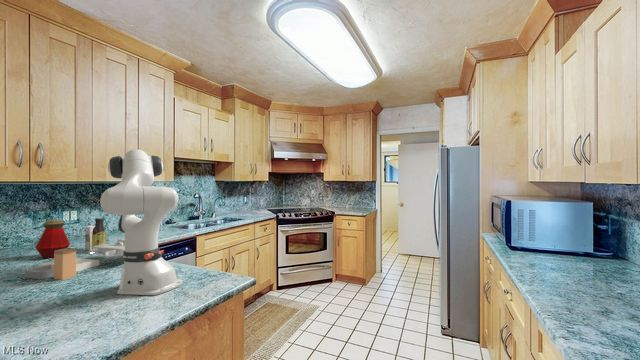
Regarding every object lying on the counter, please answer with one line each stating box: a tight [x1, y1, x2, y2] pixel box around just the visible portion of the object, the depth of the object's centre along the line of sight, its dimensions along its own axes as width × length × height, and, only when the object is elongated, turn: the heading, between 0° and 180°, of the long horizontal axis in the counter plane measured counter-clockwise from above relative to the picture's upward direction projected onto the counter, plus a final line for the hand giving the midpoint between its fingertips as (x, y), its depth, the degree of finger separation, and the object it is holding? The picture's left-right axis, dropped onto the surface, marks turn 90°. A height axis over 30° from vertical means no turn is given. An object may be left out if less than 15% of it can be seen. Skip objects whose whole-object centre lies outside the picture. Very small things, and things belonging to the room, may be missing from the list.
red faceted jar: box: [35, 219, 71, 259], centre depth 151 cm, size 16×14×20 cm
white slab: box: [24, 257, 100, 280], centre depth 127 cm, size 20×22×3 cm
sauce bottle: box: [91, 217, 107, 249], centre depth 161 cm, size 7×6×20 cm
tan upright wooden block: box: [53, 247, 77, 281], centre depth 117 cm, size 5×5×12 cm
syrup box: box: [84, 224, 95, 251], centre depth 168 cm, size 6×6×14 cm
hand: (96, 253), depth 130 cm, fingers open, 8 cm apart
